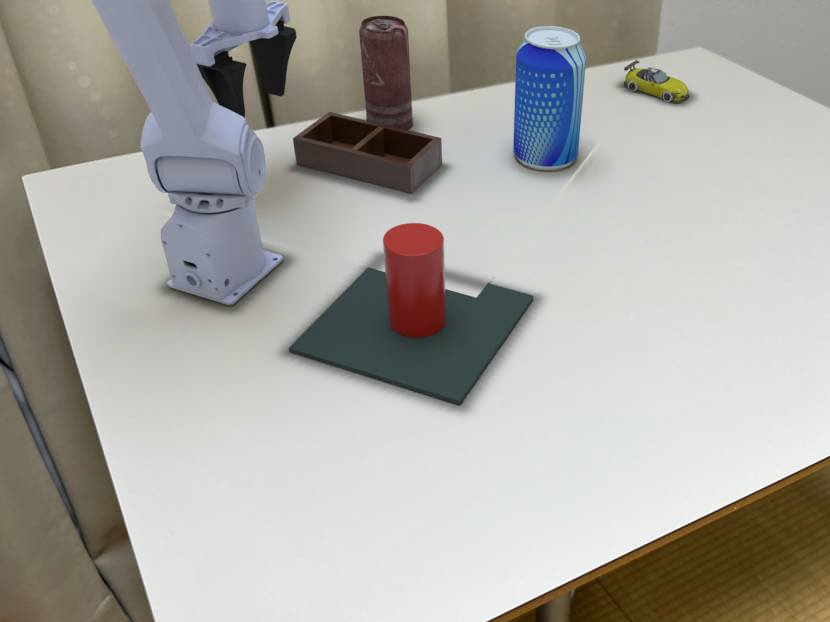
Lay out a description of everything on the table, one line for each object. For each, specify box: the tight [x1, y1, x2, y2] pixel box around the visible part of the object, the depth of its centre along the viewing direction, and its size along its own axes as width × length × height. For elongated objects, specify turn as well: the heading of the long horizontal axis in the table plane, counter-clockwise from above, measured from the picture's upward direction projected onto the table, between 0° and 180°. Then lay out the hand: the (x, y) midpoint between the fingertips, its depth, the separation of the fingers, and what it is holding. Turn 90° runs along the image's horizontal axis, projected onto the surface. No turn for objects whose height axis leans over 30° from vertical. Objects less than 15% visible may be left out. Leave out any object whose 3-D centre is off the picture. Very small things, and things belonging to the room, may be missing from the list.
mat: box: [288, 267, 534, 405], centre depth 89 cm, size 18×18×1 cm
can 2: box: [382, 222, 446, 338], centre depth 86 cm, size 6×6×10 cm
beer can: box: [512, 25, 587, 171], centre depth 110 cm, size 8×8×16 cm
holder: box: [292, 111, 443, 195], centre depth 111 cm, size 8×16×4 cm, turn 68°
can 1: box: [358, 15, 414, 131], centre depth 116 cm, size 6×6×14 cm
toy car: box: [623, 59, 691, 104], centre depth 133 cm, size 5×10×3 cm, turn 57°
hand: (255, 106), depth 100 cm, fingers open, 7 cm apart
